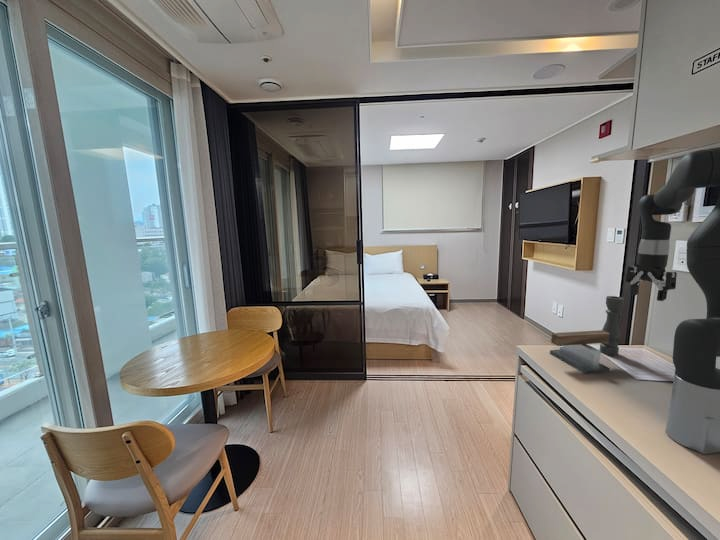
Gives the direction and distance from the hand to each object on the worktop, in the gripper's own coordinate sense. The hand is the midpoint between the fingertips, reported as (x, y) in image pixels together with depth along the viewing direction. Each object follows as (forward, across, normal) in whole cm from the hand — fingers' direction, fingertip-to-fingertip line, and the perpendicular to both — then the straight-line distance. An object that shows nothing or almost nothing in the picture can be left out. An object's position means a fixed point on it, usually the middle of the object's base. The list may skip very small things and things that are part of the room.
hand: (646, 297), depth 104 cm
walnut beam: (+22, +13, +12) cm, 28 cm away
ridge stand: (+30, +13, +12) cm, 35 cm away
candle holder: (+30, +18, -8) cm, 36 cm away
